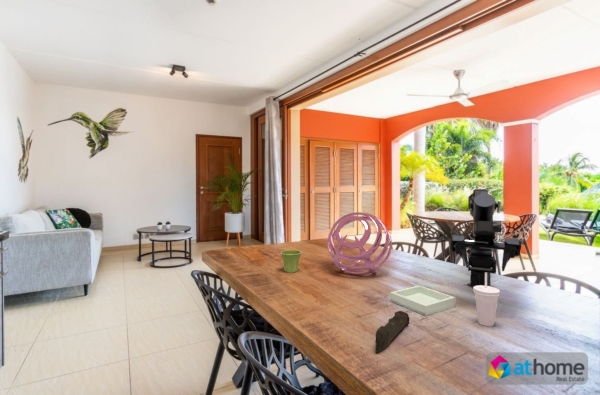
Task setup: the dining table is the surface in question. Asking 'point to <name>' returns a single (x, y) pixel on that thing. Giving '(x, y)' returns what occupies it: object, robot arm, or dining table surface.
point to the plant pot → (291, 260)
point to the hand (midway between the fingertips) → (484, 268)
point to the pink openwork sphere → (359, 244)
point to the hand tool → (390, 330)
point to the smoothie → (486, 303)
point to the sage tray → (423, 300)
